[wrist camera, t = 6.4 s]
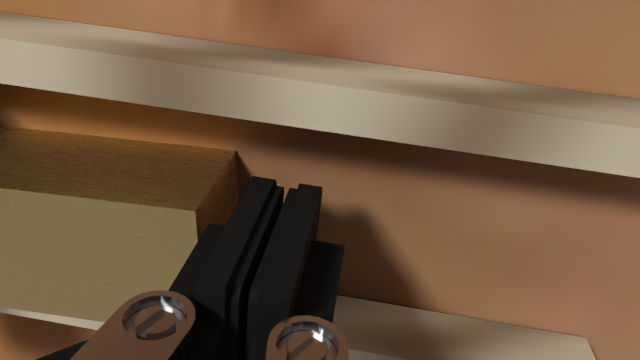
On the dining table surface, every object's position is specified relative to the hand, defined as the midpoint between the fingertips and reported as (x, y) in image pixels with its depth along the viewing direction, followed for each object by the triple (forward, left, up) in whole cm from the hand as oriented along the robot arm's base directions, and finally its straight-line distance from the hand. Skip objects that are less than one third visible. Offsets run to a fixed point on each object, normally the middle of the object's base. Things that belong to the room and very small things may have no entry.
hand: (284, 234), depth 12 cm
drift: (+9, +1, -2) cm, 9 cm away
